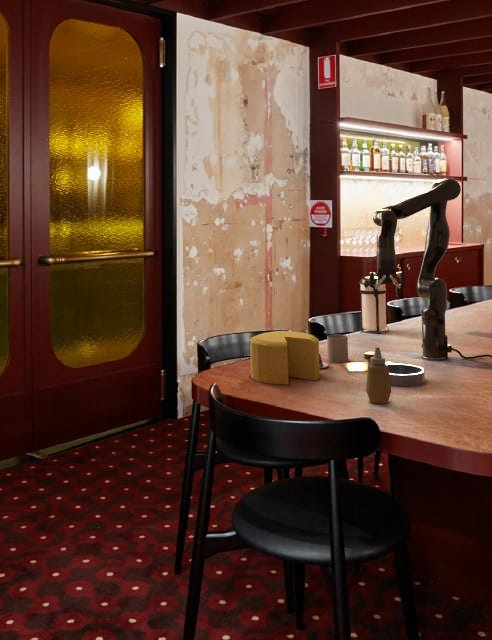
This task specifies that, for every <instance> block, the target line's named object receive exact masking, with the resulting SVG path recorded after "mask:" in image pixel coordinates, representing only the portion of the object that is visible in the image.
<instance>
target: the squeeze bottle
mask: <svg viewBox="0 0 492 640" xmlns="http://www.w3.org/2000/svg"><path fill="white" fill-rule="evenodd" d="M374 352H375V353H374V357H371V364H369V365H368V371H367V372H366V373H367V374H366V385H365V391H366V394H367V398H368V399H369V402H370V403H372V404H377V405H378V404H387V403H388V402H389V401H390V397H391V394H392V385H391V384H390V377H389V369H388V366H387V365H386V364H385V362H386V358H385V357H383V356H382V353H381V348H380V346H375V348H374Z"/></svg>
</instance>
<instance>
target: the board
mask: <svg viewBox="0 0 492 640" xmlns="http://www.w3.org/2000/svg"><path fill="white" fill-rule="evenodd" d="M385 364H395V363H394V362H393V361H385ZM342 367H343V368H344V369H345V370H347V371H348V372H349V373H367V371H368V361H367V362H366V361H365V362H344V363H342Z"/></svg>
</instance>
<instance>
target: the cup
mask: <svg viewBox="0 0 492 640" xmlns="http://www.w3.org/2000/svg"><path fill="white" fill-rule="evenodd" d="M348 338H349V337H348V335H347V334H329V335H326V341H327V344H326V345H327V361H328V362H329V363H333V364H334V363H335V364H336V363H337V364H343V363H349V339H348Z"/></svg>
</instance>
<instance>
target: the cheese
mask: <svg viewBox="0 0 492 640" xmlns="http://www.w3.org/2000/svg"><path fill="white" fill-rule="evenodd" d="M319 341H320V340H319V338H318V337H316V336H315V335H313V334H310V333H307V332H302V331H283V330H281V331H269V332H262V333H259V334H257V335H253V336H252V337H251V338H250V339H249V354H250V356H249V357H250V359H249V360H250V377H251V379H253V380H255V381H257V382H259V383H265V384H271V385H289V378H297V379H303V380H311V381H317V380H318V379H320V369H319V354H320V342H319Z"/></svg>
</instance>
